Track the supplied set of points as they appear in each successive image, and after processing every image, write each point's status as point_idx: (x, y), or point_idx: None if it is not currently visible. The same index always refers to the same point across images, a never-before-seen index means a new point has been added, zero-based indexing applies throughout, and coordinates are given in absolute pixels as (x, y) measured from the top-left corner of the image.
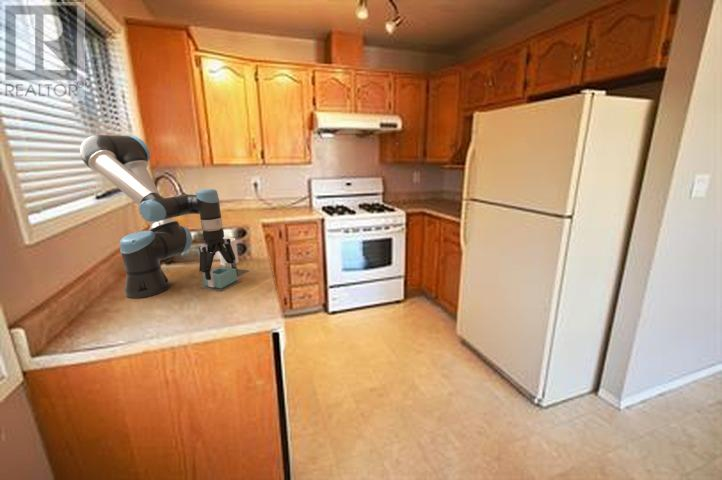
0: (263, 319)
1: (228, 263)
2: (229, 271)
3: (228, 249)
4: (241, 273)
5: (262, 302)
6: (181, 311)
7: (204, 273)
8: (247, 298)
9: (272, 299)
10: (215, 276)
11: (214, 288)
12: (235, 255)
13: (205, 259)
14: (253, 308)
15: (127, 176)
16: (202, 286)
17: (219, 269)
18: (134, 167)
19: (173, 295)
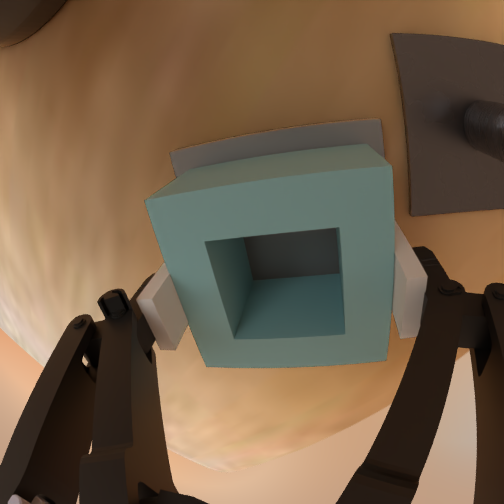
0: (205, 464)
1: (414, 314)
2: (315, 365)
3: (487, 457)
4: (495, 189)
5: (260, 445)
6: (56, 301)
7: (164, 205)
8: (253, 413)
9: (289, 452)
10: (197, 338)
11: None
12: None
13: (76, 445)
14: (221, 443)
15: None
16: (181, 156)
17: (335, 223)
18: None
19: (53, 115)
